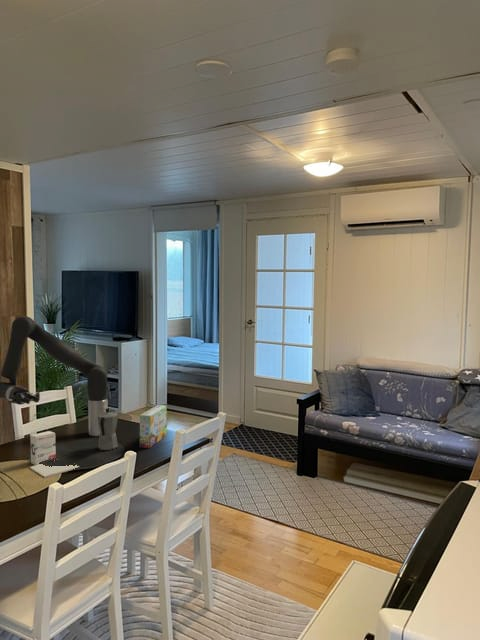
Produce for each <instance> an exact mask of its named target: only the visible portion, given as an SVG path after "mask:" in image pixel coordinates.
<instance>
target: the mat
mask: <svg viewBox="0 0 480 640" xmlns="http://www.w3.org/2000/svg"><path fill="white" fill-rule="evenodd" d="M77 465H78V464H76V465H75V466H73V465H69V466H67V465H66V466H52V467H51V466H50V467H49V466H45V465H43V464H39V465H32V466H29V469H30V470H32V471H33V472H35V473H37V474H39V475H40V476H42V477H43V478H48V477H52V476H56V475H59V474H62V473H67V472H69V471H74V470H76V469H75V468H78V467H80V466H79V465H78V466H77ZM73 469H74V470H73ZM78 469H79V468H78Z"/></svg>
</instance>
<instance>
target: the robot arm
mask: <svg viewBox="0 0 480 640" xmlns="http://www.w3.org/2000/svg"><path fill="white" fill-rule="evenodd" d="M27 338H28V339H30V340H32V341H33V342H35V343H36V344H38V346H40V348H42V349H43V351H45V352H46V353H47V354H48V355H49V356H50V357H52V358H53V359H55V360H56V361H57V362H59V363H61V364H62V365H65V366H67V367H70V368H71V369H74V370H76V371H78V372H80V373H81V374H82V375H84V376H85V377H86V378H87V382H86V383H87V384H86V385H87V398H88V400H87V402H88V403H87V405H88V406H87V407H88V411H87V412H88V413H87V414H88V435H89V436H91V437H92V436H93V437H99V435H100V430H99V424H98V417H97V415H98V414H101V413H105V412H106V409H107V408H108V407H109V404H108V397H109V396H108V371H107V369H106V368H104V367H103V366H101V365H100V364H97V363H96V362H93V361H92V360H90V359H88V358H87V357H86V356H84V355H83V353H81V352H80V351H78V350H77V349H75V348H74V347H73V346H71V345H70V344H69V343H67V342H66V341H64V340H63V339H61V338H59V337H58V336H56V335H55V334H52V333H50V332H49V331H47V330H46V329H45V328H44V327H42V326H41V325H40V324H39V323H37V322H36V321H35V320H34V319H33V318H31V317H29V316H25V315H24V316H22V315H21V316H19V317H18V316H17V317H16V318H15V319H14V320H13V322H12V324H11V331H10V339H9V344H8V349H7V352H6V355H5V359H4V362H3V364H2V367H1V371H0V376H1V377H2V378H5V379H7V380H9V381H8V382H5V381H0V399H1V398H2V399H6V400H8V403H9V404H16V405H20V406H21V405H25V404H28V405H29V404H30V403H31V402H33V403H39V402H40V400H41V399H40V398H41V397H40V396H41V395H40V393H41V392H39V391H38V392H35V394H34V393H32V392H30V391H29V390H28V389H27V388H25V387H22V386H20V385H17V382H18V381H17V379H18V372H19V369H20V367H21V362H22V357H23V355H22V354H23V350H24V347H25V343H26V341H27Z"/></svg>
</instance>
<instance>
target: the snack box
mask: <svg viewBox="0 0 480 640" xmlns="http://www.w3.org/2000/svg"><path fill="white" fill-rule="evenodd" d="M167 413H168V412H167V405H162V404H161V405H160V404H158V405H157V404H156V405H155V406H153V407H152V408H150V409H148V410H147V411H145V412H143V413H141V414H140V415H139V448H142V449H151V448H152V447H153V446H154V445H155V444H156V445H157V443H158V442H159V441H161V440H162V439H163V438H165V437H166V436H167V418H168V417H167V415H168V414H167Z"/></svg>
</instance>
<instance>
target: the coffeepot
mask: <svg viewBox="0 0 480 640" xmlns="http://www.w3.org/2000/svg"><path fill="white" fill-rule="evenodd" d="M97 417H98V424H99V430H100V435H99V436H98V437H99V438H98V443H97V449H98V448H102V449H111V448H115V447H118V448H119V445H118V443H119V442H118V439H117V434H116V429H117V427H118V426H117V425H118V417H119V414H118V413H117V412H113V411H110V408H107V409H106V412H105V413H101V414H98V415H97Z"/></svg>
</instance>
